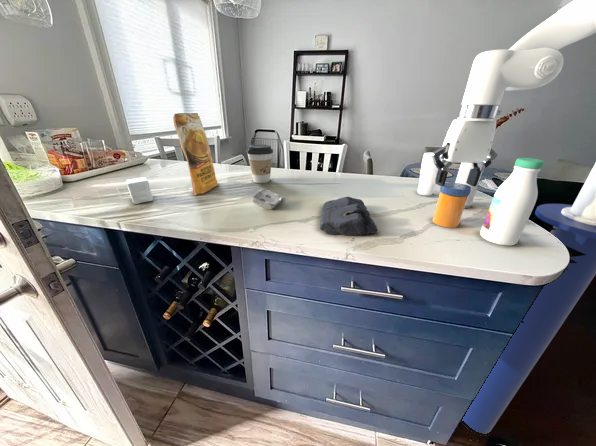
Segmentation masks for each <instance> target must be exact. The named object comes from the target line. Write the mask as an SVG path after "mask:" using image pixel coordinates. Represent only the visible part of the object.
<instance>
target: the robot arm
mask: <svg viewBox="0 0 596 446" xmlns="http://www.w3.org/2000/svg"><path fill="white" fill-rule="evenodd" d="M595 34H596V0H572V1H570V2H569V3H568V4H566V5H565V6H563V7H562V8H560V9H559V10H557V11H556V12H555V13H553V14H552V15H551V16H550V17H548V18H546V19H545V20H544V21H542V22H540V24H538V25H537V26H535V27H534V28H533V29H531V30H530V31H529V32H527V33H526V34H524V35H523V36H522V37H521V38H520V39H518V41H516V42H515V43H514V44H513V45H512V46H511V47H510V48H509V49H508V48H507V49H506V48H505V49H504V48H502V49H500V48H499V49H491V50H485V51H482V52H480V53H478V54H477V55H476V56H475V58H474V60H473V62H472V65H471V69H470V72H469V76H468V80H467V83H466V87H465V91H464V93H463V98H462V101H461V104H460V108H459V112H458V116H457V119H456V118H455V119H453V120H452V122H451V124H450V126H449V128H448V130H447V132H446V136H445V138H444V140H443V143H442V145H441V147H440V148H438V149H436V150H435V151H432V152H433V153H432V154H431V156H432V159H433V162H434V164H435V165H436V168H437V169H438V172H437V175H436V179H435V183H436V185H438V186H440V187H441V186H444V185H445V182H446V181H447V178H448V174H449V171H447V170H448V169H449V168H451V166H452V165H453V164H454V163H455V164H456V163H457V164H461V163H472V165H473V169H471V170H470V172H469V175H468V178H467V181H466V183H467V184H469V185H471V186H476V185H477V183H478V180H479V177H480V174H481V172H482V173H483V172H485V171H486V168H488V167H489V166H490V165H491V164H492V162H494V161H495V160H496V159H497V158H498V157H499V154H498V153H497V152H496V151H495V150H494V149H493V148H492V146H493V143H494V139H495V134H496V128H497V120H496V118H497V116H500V115H501V114H502V109H501V108H500V106H501V104H502V101H503V97H504V94H505V92H510V91H528V90H529V91H530V90H535V89H539V88H541V87H543V86H546V85H547V84H549V83H551V82H553V80H554V79H556V78H557V77H558V76H559V74H560V73H561V72H562V69H563V67H564V61H565V60H564V55H563V54H562V53H561V52H560V51H559V50H561V49H563V48H565V47H567V46H569V45H572V44H574V43H576V42H579V41H581V40H583V39H585V38H588V37H590V36H592V35H595ZM440 158H441V159H443V160H442V161H441V160H440ZM572 205H573V206H572V207H566V208H563V209H562V211H561V213H562V215H564V216H565V217H567V218H570V219H572V220H575V221H578V222H581V223H584V224H588V225H593V226H596V162H595V163H594V165H593V167H592V168H591V170H590V172H589V174H588V176H587V178H586V180H585V182H584V184H583V185H582V187H581V189H580V191H579V192H578V195H577V196H576V198H575V200H574V201H573V204H572Z"/></svg>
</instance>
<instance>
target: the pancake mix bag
mask: <svg viewBox="0 0 596 446" xmlns="http://www.w3.org/2000/svg"><path fill="white" fill-rule="evenodd" d="M172 119H173V126H174V130H175V131H176V134H177V137H178V139H179V144H180V148H181V151H182V153H183V155H184V157H185V159H186V162H187V166H188V171H189V176H190V182H191V186H192V195H194V196H197V195H198V196H199V195H203V194H206V193H207V192H210V191H211V190H213V189H215V188H217V186H219V185H218V184H219V183H218V180H217V177H216V172H215V166H214V161H213V156H212V152H211V147H210V145H209V139H208V137H207V134H206V131H205V128H204V124H203V123H202V120H201V117H200V115H199V113H197V112H192V113H188V112H179V113H174V115H173V117H172Z"/></svg>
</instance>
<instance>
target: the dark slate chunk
mask: <svg viewBox="0 0 596 446" xmlns="http://www.w3.org/2000/svg"><path fill="white" fill-rule="evenodd" d="M319 220H320V221H319V222H320V223H319V229H320V230H321V231H324V233H325V234H327V235H335V236H336V235H341V236H348V237H357V236H362V235H364V236H366V235H370V234H377V232H378V227H377V225H376V224H375V222H374V220H373V218H372V217H371V214H370V211H369V210H368V208H367V207H366V205H365V203H364V201H363V200H362V199H360V198H357V197H356V198H355V197H351V196H343V197H339V198H337V199H332V200H331V199H330V200H328V201H326V202H324V203H323V206H322V209H321V215H320V219H319Z"/></svg>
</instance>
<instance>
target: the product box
mask: <svg viewBox="0 0 596 446" xmlns="http://www.w3.org/2000/svg"><path fill="white" fill-rule="evenodd" d="M125 183H126V185H127V189H128V191H129V194H130V197H131V200H132V202H133V205H138V204H142V203H147V202H151V201H154V197H153V194H152V190H151V186H150V183H149V180H148V179H147V177H145V176H144V177H136V178H129V179H125Z"/></svg>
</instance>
